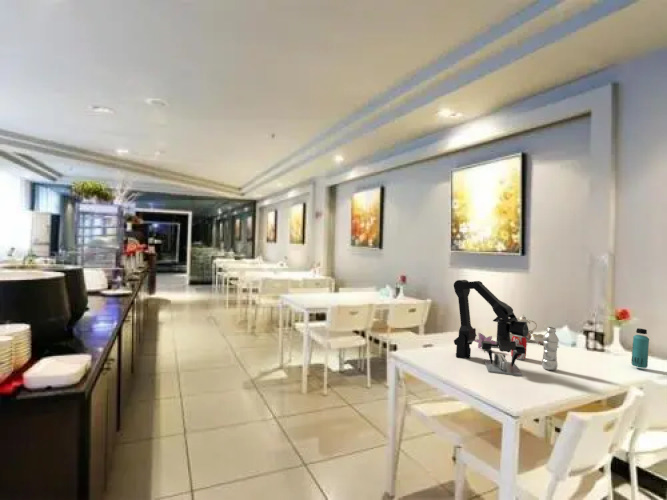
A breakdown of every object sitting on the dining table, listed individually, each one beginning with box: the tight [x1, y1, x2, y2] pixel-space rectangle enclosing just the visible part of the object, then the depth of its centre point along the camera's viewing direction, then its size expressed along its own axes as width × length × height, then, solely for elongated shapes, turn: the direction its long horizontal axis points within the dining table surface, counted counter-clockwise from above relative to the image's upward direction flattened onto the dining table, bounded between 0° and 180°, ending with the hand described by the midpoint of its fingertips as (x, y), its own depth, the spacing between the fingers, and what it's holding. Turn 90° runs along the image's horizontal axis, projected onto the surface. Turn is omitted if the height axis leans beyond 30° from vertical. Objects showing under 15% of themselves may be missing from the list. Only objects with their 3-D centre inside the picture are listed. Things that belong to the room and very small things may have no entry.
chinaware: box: [510, 314, 545, 346], centre depth 235 cm, size 28×17×17 cm, turn 81°
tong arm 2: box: [499, 353, 508, 370], centre depth 182 cm, size 2×12×4 cm, turn 167°
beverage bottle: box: [630, 327, 650, 369], centre depth 189 cm, size 6×7×20 cm
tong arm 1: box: [493, 352, 503, 369], centre depth 183 cm, size 2×12×4 cm, turn 164°
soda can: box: [510, 335, 528, 361], centre depth 198 cm, size 7×7×12 cm
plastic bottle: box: [541, 326, 559, 371], centre depth 182 cm, size 6×7×20 cm
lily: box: [473, 332, 497, 353], centre depth 210 cm, size 12×12×10 cm
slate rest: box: [483, 358, 523, 377], centre depth 181 cm, size 14×18×5 cm
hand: (501, 365), depth 181 cm, fingers open, 9 cm apart
